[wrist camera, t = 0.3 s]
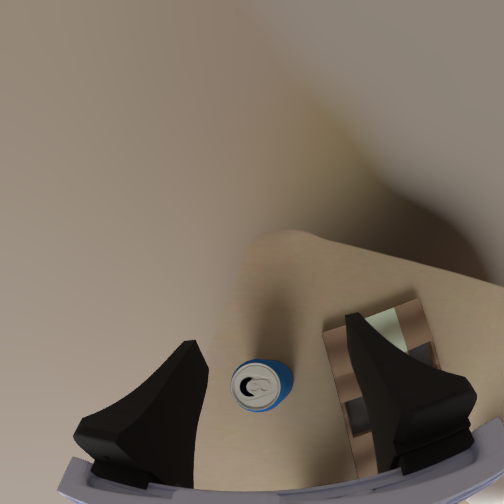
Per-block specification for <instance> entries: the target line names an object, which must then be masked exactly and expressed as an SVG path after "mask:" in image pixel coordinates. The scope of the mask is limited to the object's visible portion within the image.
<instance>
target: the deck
mask: <svg viewBox="0 0 504 504" xmlns="http://www.w3.org/2000/svg"><path fill="white" fill-rule="evenodd" d="M364 319H365V320H366V321H367V322H368V323H369V324H370V325H371V326H373V327H374V328H375V329H376V330H377V331H378V332H379V333H380V334H381V335H382V336H384V337H385V338H386V339H387V340H388V341H390V342H391V343H392V344H394V345H395V346H396V347H398V348H399V349H400V350H402V351H403V352H405V353H406V354H408V355H410V356H411V357H413V358H415V359H417V360H419V361H421V362H423V363H425V364H427V365H429V366H432V367H434V368H437V369H439V370H441V369H440V365H439V361H438V357H437V353H436V350H435V346H434V343H433V339H432V336H431V333H430V329H429V326H428V323H427V320H426V317H425V314H424V311H423V308H422V305H421V302H420V299H419V297H418V298H416V299H413V300H411V301H408V302H406V303H404V304H401V305H399V306H396V307H394V308H391V309H388V310H386V311H383V312H380V313H378V314H375V315H372V316H370V317H367V318H364ZM322 337H323V340H324V344H325V347H326V351H327V354H328V358H329V362H330V365H331V369H332V373H333V376H334V380H335V384H336V388H337V392H338V396H339V400H340V403H341V407H342V411H343V416H344V420H345V424H346V428H347V432H348V436H349V441H350V445H351V449H352V454H353V458H354V463H355V468H356V472H357V477H358V479H360V478H365V477H369V476H373V475H376V474H378V471H377V463H376V456H375V449H374V443H373V437H372V432H371V426H370V421H369V417H368V412H367V408H366V404H365V401H364V398H363V395H362V393H361V390H360V387H359V384H358V382H357V379H356V376H355V373H354V371H353V368H352V365H351V361H350V357H349V353H348V348H347V334H346V325H344V326H341V327H338V328H335V329H332V330H329V331H326V332H322Z"/></svg>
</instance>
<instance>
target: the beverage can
mask: <svg viewBox="0 0 504 504" xmlns="http://www.w3.org/2000/svg"><path fill="white" fill-rule="evenodd" d="M292 387H293V375H292V373H291V371H290V369H289V368H288V367H287V366H286V365H285V364H283V363H282V362H279V361H275V360H262V359H254V360H250V361H247V362H245V363H243V364H242V365H240V366H239V367H238V368H237V369H236V371H235V372H234V374H233V376H232V380H231V391H232V395H233V397H234V399H235V400H236V402H237V403H238V404H239V405H240V406H242V407H243V408H245V409H247V410H249V411H253V412H264V411H268V410H270V409H272V408H274V407H275V406H277V405H278V404H279V403H280V402H281V401H282V400H283V399H284V398H285V397H286V396H287V395H288V394H289V393H290V391H291V389H292Z"/></svg>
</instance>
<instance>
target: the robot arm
mask: <svg viewBox="0 0 504 504" xmlns="http://www.w3.org/2000/svg"><path fill="white" fill-rule="evenodd" d="M345 320H346V334H347V348H348V353H349V357H350V361H351V365H352V368H353V371H354V373H355V376H356V379H357V382H358V384H359V387H360V390H361V393H362V395H363V398H364V401H365V404H366V408H367V412H368V417H369V421H370V426H371V432H372V437H373V443H374V449H375V456H376V463H377V471H378V474H376V475H373V476H369V477H365V478H360V479H356V480H351V481H347V482H342V483H336V484H330V485H324V486H318V487H310V488H302V489H292V490H279V491H257V492H234V491H212V490H199V489H194V482H193V470H194V451H195V440H196V431H197V425H198V421H199V417H200V413H201V409H202V405H203V401H204V397H205V393H206V389H207V383H208V374H209V368H208V366H207V364H206V362H205V359H204V357H203V355H202V353H201V351H200V349H199V347H198V344H197V342H196V340H189V341H184V342H183V343H182V344H181V345H180V346H179V347H178V348H177V349H176V350H175V351H174V352H173V354H172V355H171V356H170V357H169V358H168V359H167V360H166V361H165V362H164V363H163V364H162V365H161V366H160V367H159V368H158V369H157V370H156V372H154V373H153V374H152V375H151V376H150V377H149V378H148V379H147V380H146V381H145V382H144V383H142V384H141V385H140V386H139V387H138V388H136V389H135V390H134V391H132V392H131V393H130V394H128V395H127V396H125V397H124V398H122V399H121V400H119V401H118V402H116V403H114V404H112V405H111V406H109V407H107V408H105V409H103V410H101V411H99V412H96V413H94V414H92V415H89V416H87V417H84V418H82V420H81V422H80V423H79V426H78V427H77V429H76V431H75V433H74V435H73V437H74V440H75V441H76V443H77V444H78V445H79V446H80V447H81V448H82V449H83V450H84V451H85V452H86V453H88V454H89V455H90V456H91V457H92V458H93V459H95V461H94V463H93V464H92V463H90V462H88V461H86V460H82V459H79V458H77V457H72V459H71V461H70V463H69V465H68V467H67V469H66V471H65V473H64V476H63V478H62V480H61V482H60V484H59V486H58V489H57V491H58V493H60V494H62V495H63V496H65V497H66V498H68V499H69V500H71V501H73V502H74V503H76V504H458V503H460V502H462V501H463V500H465V499H467V498H469V497H471V496H473V495H474V494H476V493H478V492H480V491H481V490H483V489H485V488H486V487H488V486H490V485H491V484H493V483H494V482H495V481H497V480H498V479H499V478H500V477H501V476H502V475H503V474H504V426H503V424H502V422H501V420H500V418H499V417H496V418H494V419H492V420H491V421H489V422H487V423H485V424H484V425H482V426H480V427H478V428H477V429H475V430H474V431H473V432H472V433H471V432H470V430H469V427H470V425H471V423H470V421H469V419H468V416H469V415H470V413H471V411H472V409H473V407H474V405H475V403H476V400H477V394H476V392H475V391H474V389H473V387H472V386H471V384H470V383H469V381H468V380H467V379H466V377H463V376H459V375H455V374H452V373H448V372H445V371H442V370H439V369H437V368H434V367H432V366H429V365H427V364H425V363H423V362H421V361H419V360H417V359H415V358H413V357H411V356H410V355H408V354H406V353H405V352H403V351H402V350H400V349H399V348H398V347H396V346H395V345H394V344H392V343H391V342H390V341H388V340H387V339H386V338H385V337H384V336H382V335H381V334H380V333H379V332H378V331H377V330H376V329H375V328H374V327H373V326H371V325H370V324H369V323H368V322H367V321H366V320H365V319H364V317H363V316H362V315H361V314H360V313H358V312H357V313H353V314H348V315H345Z"/></svg>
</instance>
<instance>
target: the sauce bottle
mask: <svg viewBox="0 0 504 504" xmlns="http://www.w3.org/2000/svg"><path fill="white" fill-rule="evenodd" d="M466 500H467V502H468V503H469V504H504V474H503V475H502V476H501V477H500V478H499V479H498V480H497V481H495V482H494V483H493V484H491V485H490V486H488V487H486V488H485V489H483V490H481V491H480V492H478V493H476V494H474V495H473V496H471V497H469V498H467V499H466Z"/></svg>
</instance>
